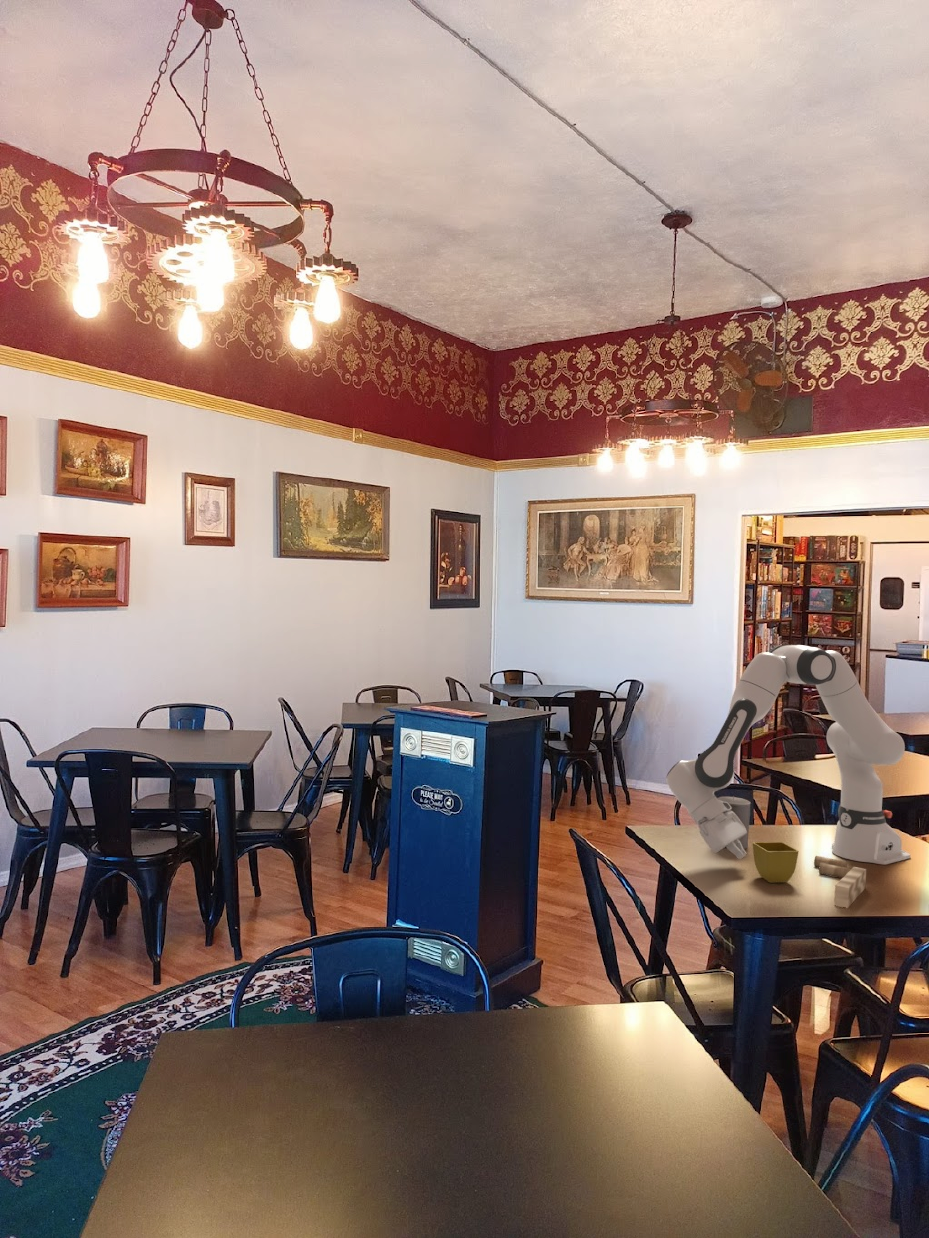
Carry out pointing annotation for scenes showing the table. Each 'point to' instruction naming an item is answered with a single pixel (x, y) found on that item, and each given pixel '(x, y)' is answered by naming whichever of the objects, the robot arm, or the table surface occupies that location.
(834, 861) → the roller
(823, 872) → the roller
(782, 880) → the flower pot
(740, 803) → the pillar candle
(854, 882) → the rail
